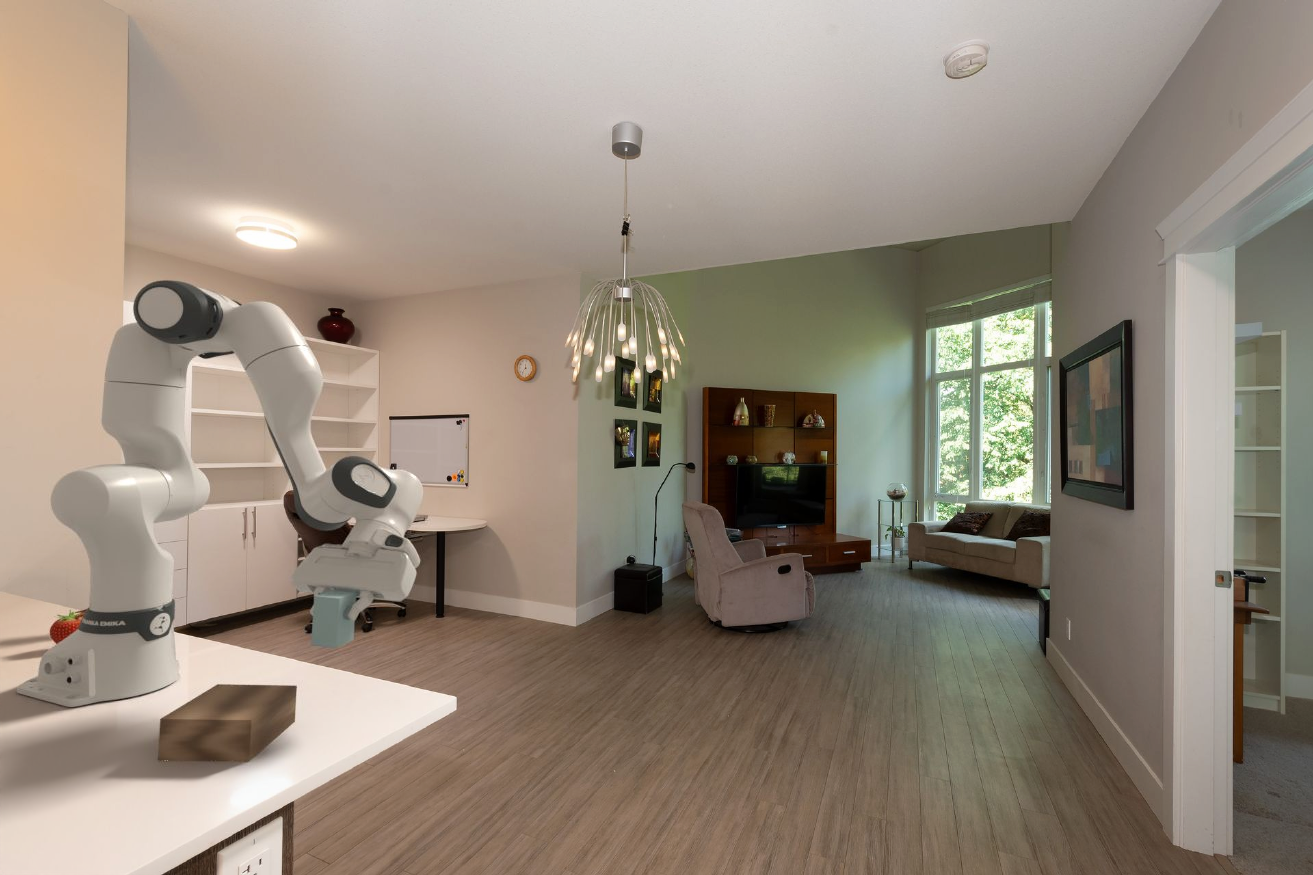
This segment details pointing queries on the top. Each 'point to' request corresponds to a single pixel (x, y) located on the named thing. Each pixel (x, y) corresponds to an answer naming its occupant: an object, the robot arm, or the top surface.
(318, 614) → the tea tin
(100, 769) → the top surface
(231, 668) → the top surface
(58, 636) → the fruit
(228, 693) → the walnut block
